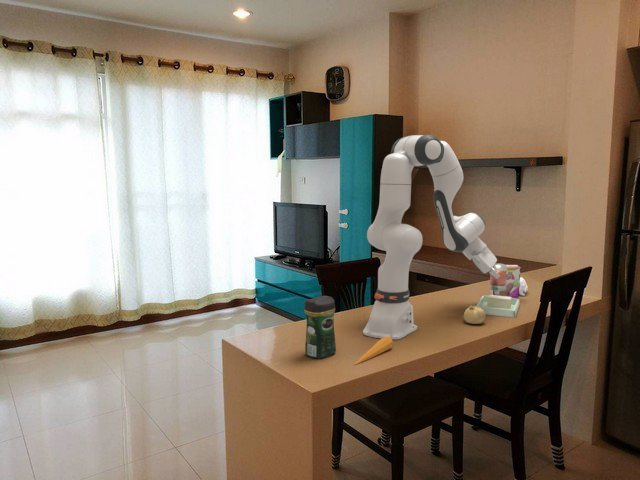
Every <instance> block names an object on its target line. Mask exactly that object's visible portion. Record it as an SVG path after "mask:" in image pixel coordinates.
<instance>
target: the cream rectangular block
mask: <svg viewBox="0 0 640 480" xmlns="http://www.w3.org/2000/svg"><path fill="white" fill-rule="evenodd" d="M487 296H488V297H487V307H495V308H505V309H510V308H511V297H508V296H498V295H491V294H488V295H487Z"/></svg>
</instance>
